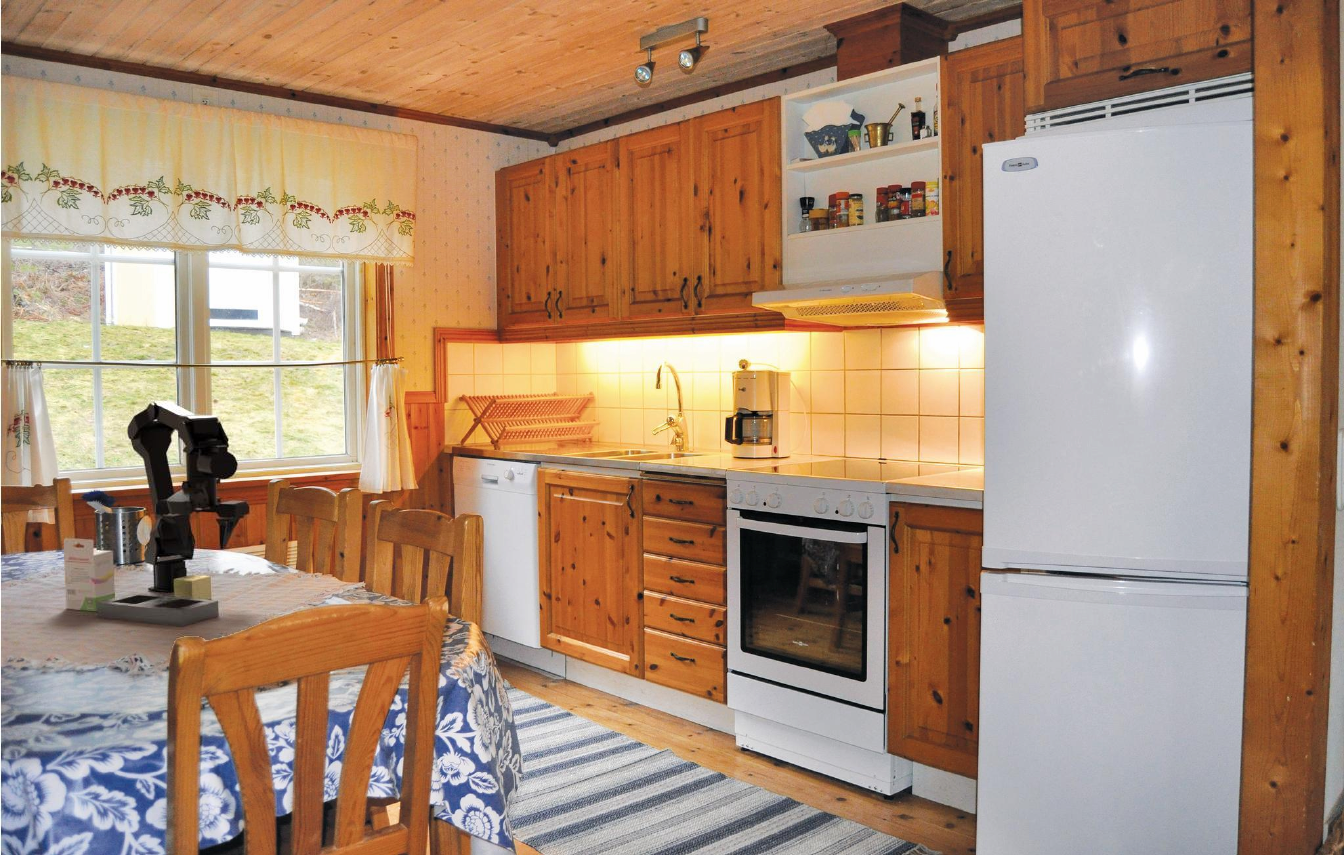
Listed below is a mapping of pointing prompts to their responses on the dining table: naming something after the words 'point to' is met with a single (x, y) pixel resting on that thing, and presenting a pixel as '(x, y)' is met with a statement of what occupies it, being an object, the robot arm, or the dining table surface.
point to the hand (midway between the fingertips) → (203, 548)
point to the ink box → (87, 575)
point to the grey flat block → (158, 609)
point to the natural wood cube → (193, 587)
